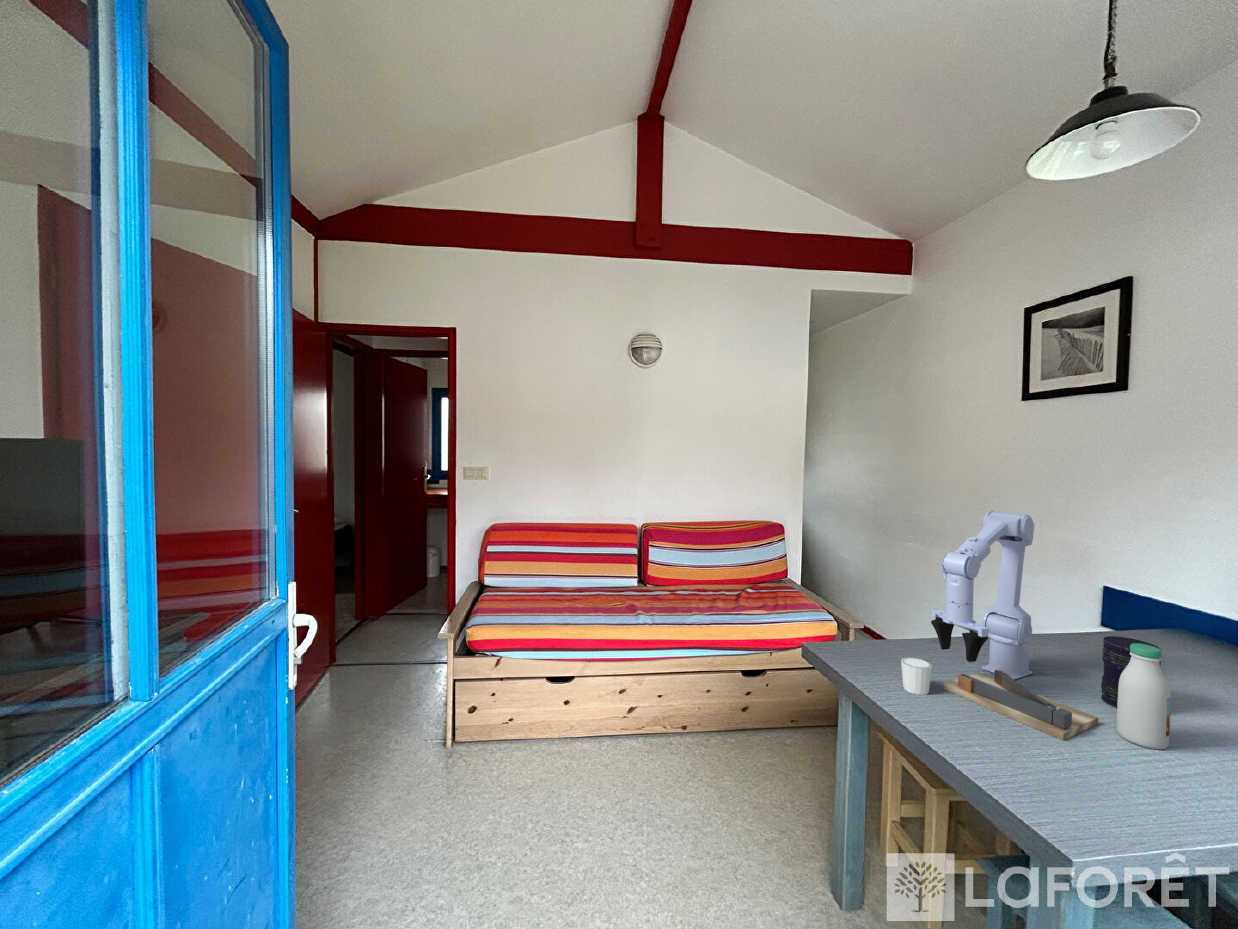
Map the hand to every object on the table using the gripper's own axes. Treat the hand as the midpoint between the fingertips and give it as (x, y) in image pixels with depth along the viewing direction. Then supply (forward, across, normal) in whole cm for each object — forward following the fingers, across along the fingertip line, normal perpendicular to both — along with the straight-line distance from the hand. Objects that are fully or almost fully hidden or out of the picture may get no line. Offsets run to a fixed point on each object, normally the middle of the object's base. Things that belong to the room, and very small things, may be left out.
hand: (958, 654), depth 127 cm
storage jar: (+10, +13, +36) cm, 39 cm away
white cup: (+10, -4, -9) cm, 14 cm away
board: (+10, +8, +9) cm, 15 cm away
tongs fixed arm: (+8, +10, +4) cm, 14 cm away
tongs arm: (+8, +9, +10) cm, 16 cm away
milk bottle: (+10, +25, +21) cm, 34 cm away
